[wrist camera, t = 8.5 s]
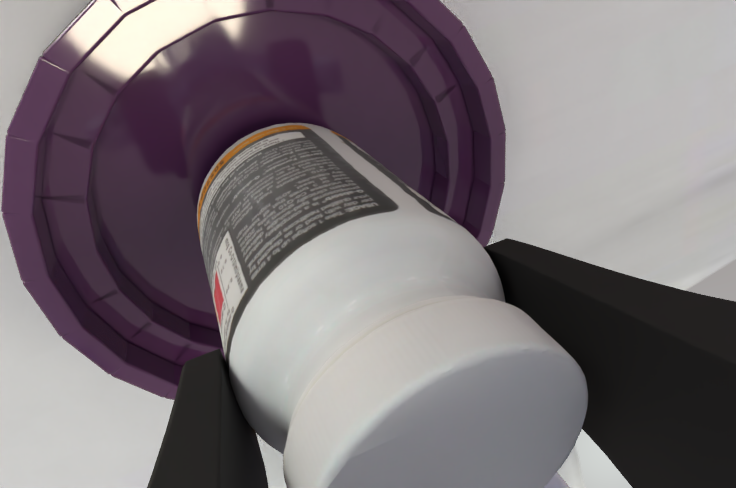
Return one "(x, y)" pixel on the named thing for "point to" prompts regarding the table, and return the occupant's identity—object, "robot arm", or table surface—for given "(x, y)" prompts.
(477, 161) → the dish
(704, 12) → the table surface
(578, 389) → the pill bottle
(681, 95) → the table surface
